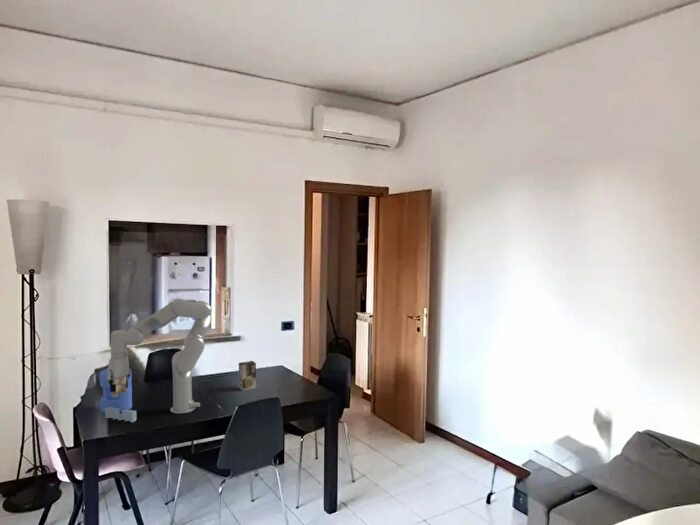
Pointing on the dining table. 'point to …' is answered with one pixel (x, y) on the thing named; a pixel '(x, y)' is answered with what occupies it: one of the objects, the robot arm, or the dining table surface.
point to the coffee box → (247, 375)
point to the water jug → (116, 402)
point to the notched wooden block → (120, 386)
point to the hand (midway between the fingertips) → (119, 389)
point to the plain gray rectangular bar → (126, 414)
